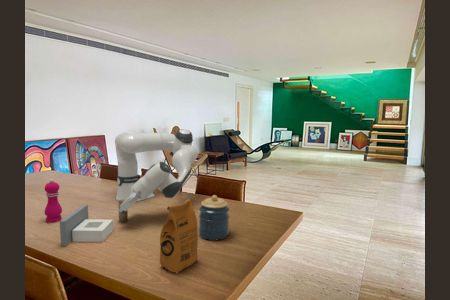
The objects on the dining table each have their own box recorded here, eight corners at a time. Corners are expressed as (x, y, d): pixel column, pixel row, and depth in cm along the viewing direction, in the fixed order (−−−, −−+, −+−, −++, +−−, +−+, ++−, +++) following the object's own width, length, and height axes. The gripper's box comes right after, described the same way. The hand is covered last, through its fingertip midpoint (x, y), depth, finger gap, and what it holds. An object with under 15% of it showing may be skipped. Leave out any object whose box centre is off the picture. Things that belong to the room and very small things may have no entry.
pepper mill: (44, 224, 133) (41, 181, 131) (45, 218, 140) (43, 178, 137) (62, 221, 137) (60, 180, 134) (62, 216, 143) (60, 176, 140)
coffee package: (155, 266, 100) (155, 204, 97) (181, 252, 110) (181, 196, 107) (175, 276, 94) (176, 210, 91) (201, 261, 104) (202, 201, 101)
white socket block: (113, 230, 129) (113, 219, 128) (102, 242, 117) (102, 230, 116) (86, 230, 128) (85, 219, 128) (72, 242, 117) (72, 230, 116)
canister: (217, 244, 118) (218, 201, 115) (192, 236, 124) (193, 196, 122) (234, 233, 128) (235, 194, 126) (210, 226, 135) (210, 189, 133)
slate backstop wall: (88, 225, 132) (87, 204, 131) (66, 246, 113) (65, 221, 111) (84, 225, 132) (83, 204, 131) (61, 246, 112) (59, 221, 111)
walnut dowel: (125, 218, 142) (125, 199, 141) (129, 221, 139) (128, 201, 138) (117, 220, 139) (117, 200, 138) (120, 223, 136) (120, 202, 135)
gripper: (141, 200, 128) (119, 221, 128) (151, 188, 148) (132, 206, 149) (130, 190, 127) (108, 212, 128) (142, 179, 147) (123, 198, 148)
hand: (121, 209), depth 138 cm, fingers closed on walnut dowel, 4 cm apart
